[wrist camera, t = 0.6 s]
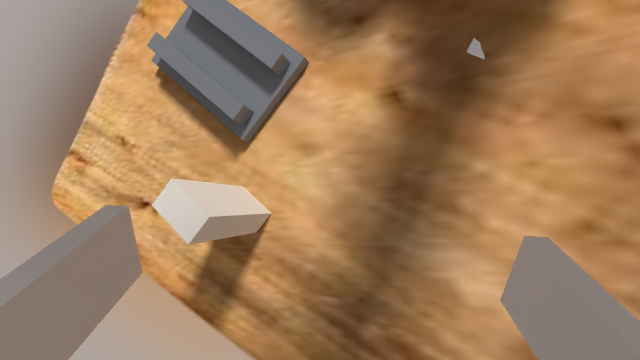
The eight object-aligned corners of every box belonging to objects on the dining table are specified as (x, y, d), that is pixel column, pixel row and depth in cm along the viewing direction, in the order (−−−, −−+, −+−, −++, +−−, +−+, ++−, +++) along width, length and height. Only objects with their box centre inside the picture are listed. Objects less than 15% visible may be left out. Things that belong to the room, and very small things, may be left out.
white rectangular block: (242, 186, 38) (171, 178, 27) (271, 213, 37) (209, 216, 26) (228, 205, 39) (152, 205, 27) (256, 232, 37) (188, 244, 26)
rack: (210, -9, 42) (190, -31, 38) (308, 62, 37) (297, 46, 33) (159, 65, 43) (135, 51, 39) (248, 142, 39) (230, 135, 35)
